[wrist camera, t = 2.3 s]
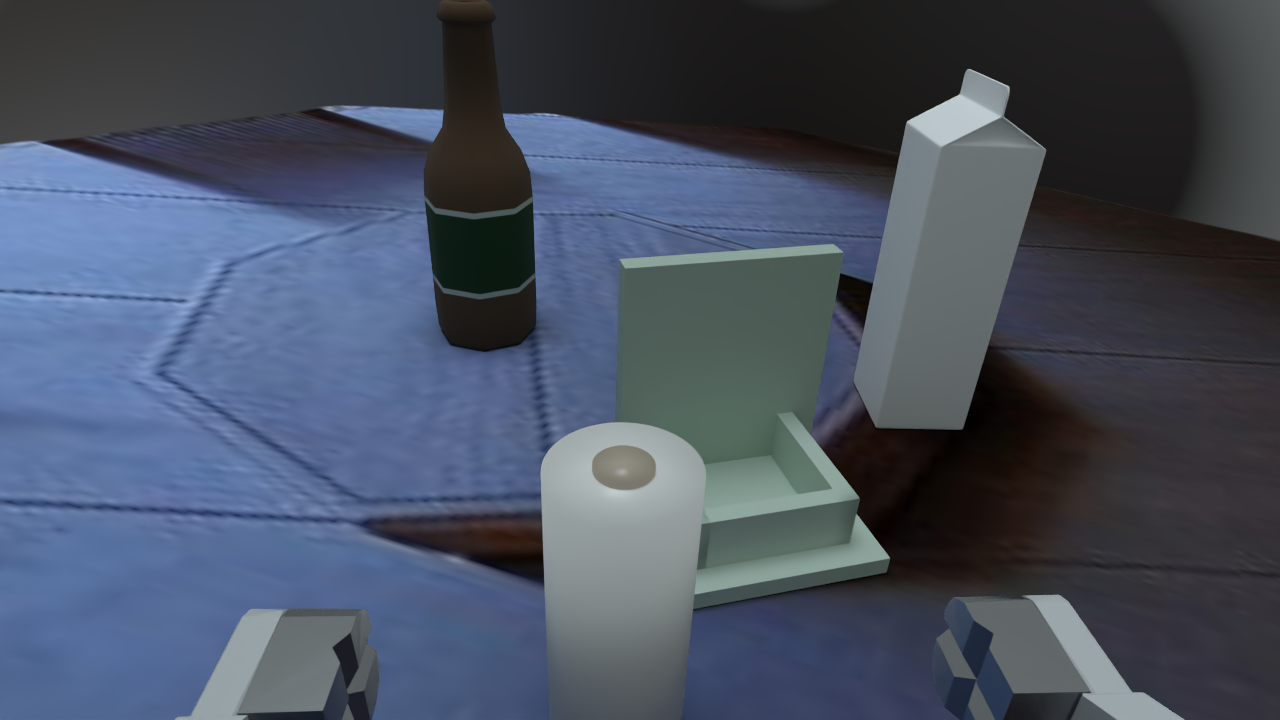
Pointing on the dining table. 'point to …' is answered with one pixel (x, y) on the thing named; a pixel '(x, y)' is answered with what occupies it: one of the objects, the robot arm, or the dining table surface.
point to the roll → (620, 570)
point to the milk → (945, 258)
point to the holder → (745, 411)
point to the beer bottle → (478, 195)
